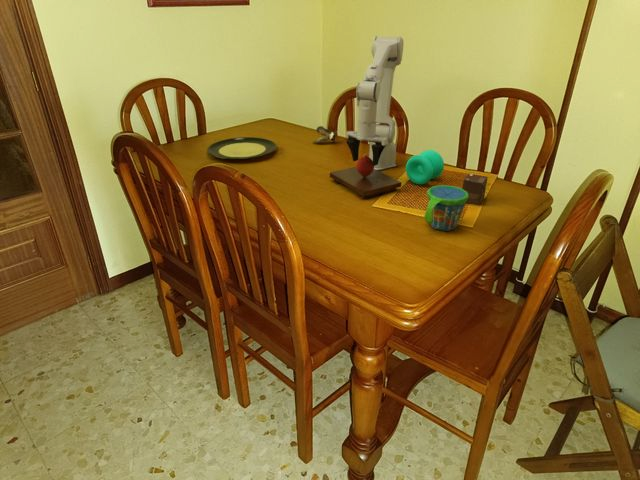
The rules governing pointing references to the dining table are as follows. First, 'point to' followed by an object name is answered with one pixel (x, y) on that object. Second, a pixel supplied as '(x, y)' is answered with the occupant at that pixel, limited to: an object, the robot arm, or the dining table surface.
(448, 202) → the snack cup
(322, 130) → the eagle figurine
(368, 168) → the onion
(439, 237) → the dining table surface
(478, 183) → the box
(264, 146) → the plate
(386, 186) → the platform
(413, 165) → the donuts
